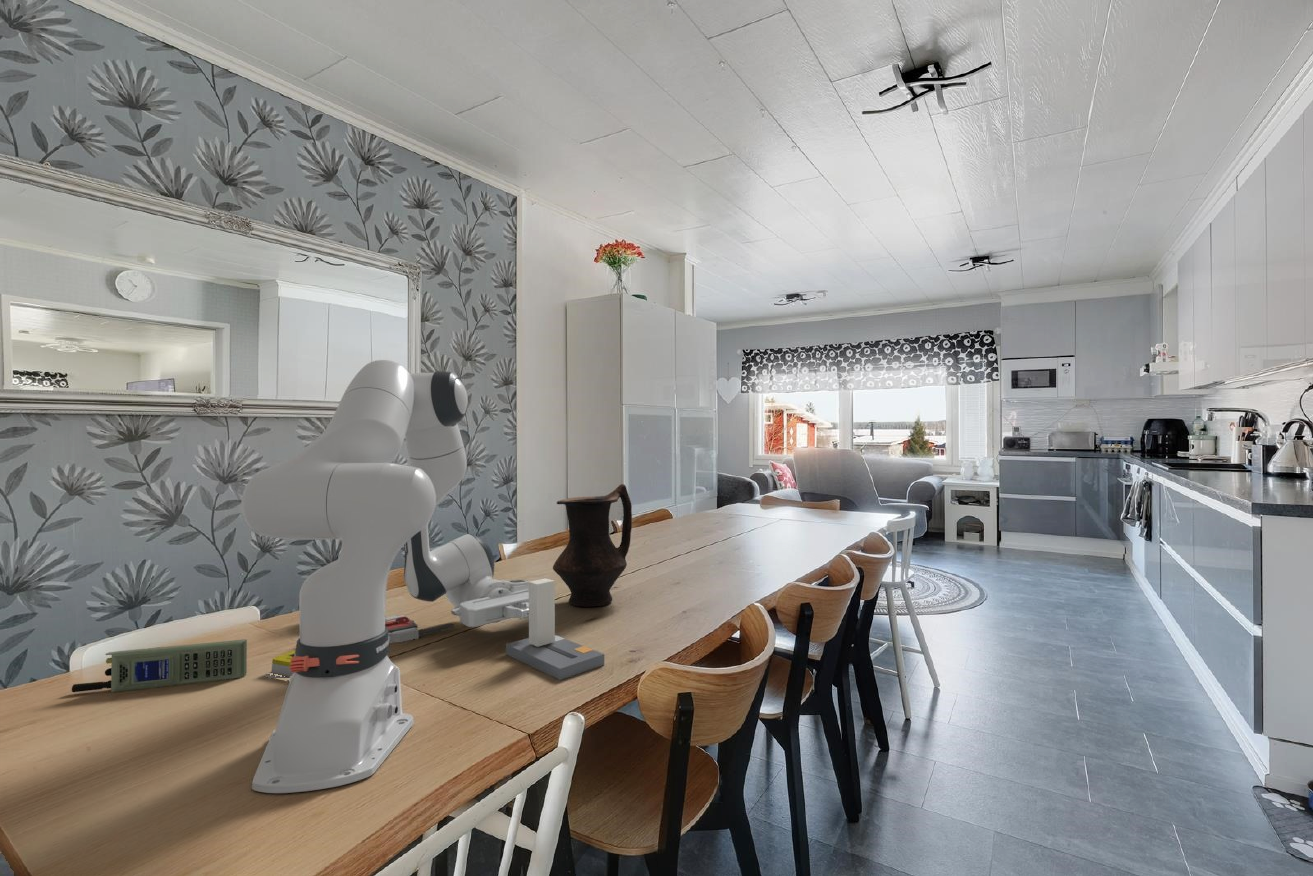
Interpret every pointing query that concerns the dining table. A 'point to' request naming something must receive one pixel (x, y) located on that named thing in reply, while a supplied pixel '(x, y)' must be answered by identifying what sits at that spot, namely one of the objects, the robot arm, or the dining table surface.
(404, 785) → the dining table surface
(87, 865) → the dining table surface
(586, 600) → the jug
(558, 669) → the switch panel
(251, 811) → the dining table surface
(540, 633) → the switch tab
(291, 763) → the robot arm
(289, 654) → the emergency button
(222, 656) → the handheld radio
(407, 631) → the walkie-talkie
